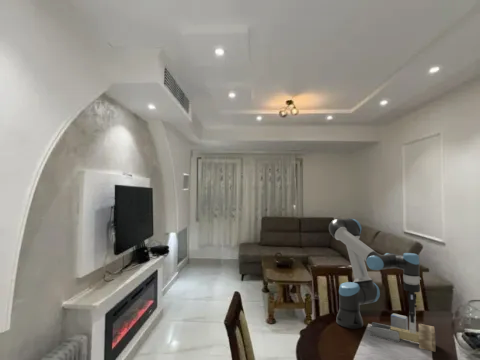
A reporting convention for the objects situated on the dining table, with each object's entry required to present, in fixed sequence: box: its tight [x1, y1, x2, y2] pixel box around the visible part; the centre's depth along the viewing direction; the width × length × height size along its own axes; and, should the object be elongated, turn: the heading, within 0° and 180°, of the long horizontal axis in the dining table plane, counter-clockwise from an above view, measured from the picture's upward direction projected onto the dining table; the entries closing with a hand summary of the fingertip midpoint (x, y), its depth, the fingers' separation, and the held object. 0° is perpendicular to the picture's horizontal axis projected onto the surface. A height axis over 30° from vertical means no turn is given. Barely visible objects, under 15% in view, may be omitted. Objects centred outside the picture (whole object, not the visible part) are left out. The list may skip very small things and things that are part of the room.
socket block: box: [418, 323, 436, 353], centre depth 151 cm, size 7×9×9 cm
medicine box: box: [390, 313, 409, 330], centre depth 168 cm, size 8×4×9 cm, turn 47°
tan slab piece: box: [390, 312, 419, 344], centre depth 156 cm, size 18×4×14 cm, turn 59°
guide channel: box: [369, 321, 401, 343], centre depth 161 cm, size 14×7×5 cm, turn 59°
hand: (412, 323), depth 155 cm, fingers open, 13 cm apart
